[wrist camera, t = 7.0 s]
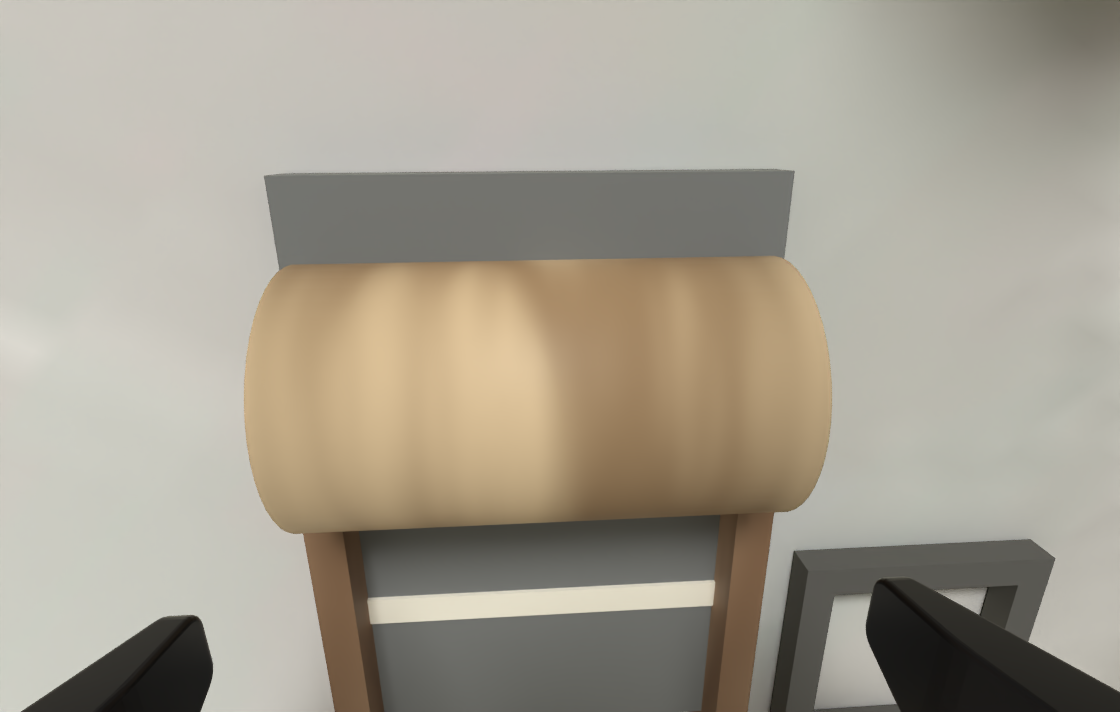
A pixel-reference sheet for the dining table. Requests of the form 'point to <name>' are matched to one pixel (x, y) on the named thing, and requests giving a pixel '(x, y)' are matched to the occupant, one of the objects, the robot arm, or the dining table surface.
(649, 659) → the runway mat
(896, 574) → the grey square frame
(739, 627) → the walnut lane
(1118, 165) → the dining table surface
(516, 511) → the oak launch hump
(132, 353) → the dining table surface
